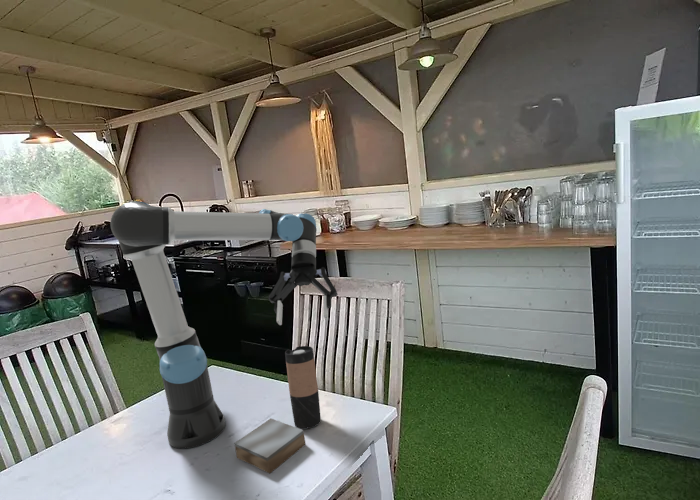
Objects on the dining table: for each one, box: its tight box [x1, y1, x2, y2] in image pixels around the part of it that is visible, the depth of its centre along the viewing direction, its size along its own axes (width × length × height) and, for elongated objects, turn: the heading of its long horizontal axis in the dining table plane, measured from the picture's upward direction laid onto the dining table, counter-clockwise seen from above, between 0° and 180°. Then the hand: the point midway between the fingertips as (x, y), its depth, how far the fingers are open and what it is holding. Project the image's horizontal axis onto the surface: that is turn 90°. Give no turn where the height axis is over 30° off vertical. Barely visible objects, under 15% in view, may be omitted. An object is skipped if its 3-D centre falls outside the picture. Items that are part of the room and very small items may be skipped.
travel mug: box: [284, 345, 322, 430], centre depth 120 cm, size 8×8×20 cm
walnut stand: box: [233, 418, 306, 474], centre depth 110 cm, size 12×12×4 cm
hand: (302, 320), depth 126 cm, fingers open, 13 cm apart
